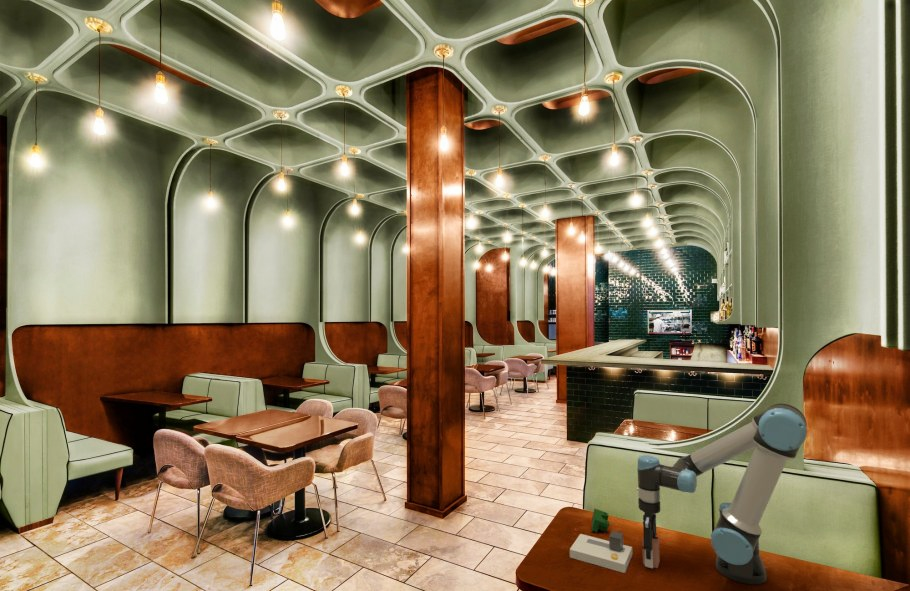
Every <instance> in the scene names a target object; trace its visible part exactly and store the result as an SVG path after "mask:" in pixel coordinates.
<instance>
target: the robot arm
mask: <svg viewBox="0 0 910 591" xmlns="http://www.w3.org/2000/svg"><path fill="white" fill-rule="evenodd" d="M807 425H808V424H807V420H806V417H805V415H804V414H803V412H802V411H801V410H800V409H798V408H797V407H796V406H794V405H792V404H787V403H784V402H783V403H775V404H772V405H770V406H768V407H767V408H766V409H764V410H763V411H762V412H760V413H758V414H757V415H755V416H753V417H752V418H751V422H748V423H747V424H745V425H743V426H741V427H740V428H737V429H735V430H734V431H732V432H730V433H727V434H726V435H724V436H722V437H720V438H718V439H716V440H715V441H713V442H711V443H709V444H707V445H705V446H703V447H700V448H699V449H696V451H694V452H692V453H690V454H688V455H686V456H682V457H680V458H678V459H677V461H676V462H675V463H674V464H673V465H672V466H669V465H665V464H661V463H660V459H659V458H658V457H656V456H653V455H645V454H643V455H640V456H639V457H638V458H637V488H636V491H638V492H637V494H638V509H639V510H640V511H642V512H644V514H643V515H642V519H643V521H642V525H643V531H642V532H643V538H642V539H643V540H644V547H641V548H642V550H643V549H644V550H645V565H644V567H646V568H650V569H654V567H653V549H652V538H654V539H658V540H659V537H658V536H657V535H658V533H657V514H659V513H661V487H662V488H667V489H670V490H675V491H680V492H683V493H690V494H693V493H695V492H696V491H697V490H696V489H697V487H698V484H697V482H698V478H697V477H698V476H701V475H703V474H705V473H706V472H708V471H710V470H713V469H715V468H716V467H718V466H721V465H723V464H725V463H726V462H729V461H731V460H732V459H735V458H738V457H739V456H742V455H744V454H745V453H748V452H750V451H752V450H753V452H752V454H751V457H750V459H749V462H748V464H747V466H746V469H745V471H744V473H743V476H742V478H741V480H740V482H739V485H738V487H737V490H736V493H735V494H734V497H733V498H732V502H722V503H720V504H719V507H718V511H719V518H718V520H717V521H716V524H715V527H714V530H712V532H711V535H710V537H711V538H710V543H711V547H712V549H713V551H714V552H715V553H716V557H715V568H716V570H717V571H718V572H719V573H720V574H722V575H723V576H724V577H726V578H727V579H730V580H733V581H735V582H739V583H740V584H741V583H742V584H746V585H747V584H748V585H760V584H764V583H765V582H766V581H767V570H766V568H765V566H764V563H763V559H762V557H761V555H760V554H761V553H760V537H761V535H762V532H763V530H762V528H761V526H760V523H761V519H762V517H764V516H763V515H764V513H765V511H766V508H767V507H768V504H769V501H770V500H771V497H772V495H773V493H774V490H775V488H776V486H777V484H778V481H779V479H780V477H781V475H782V472H783V470H784V468H785V466H786V464H787V461H789V460H793V459H795V458H796V457H797V454H798V453H799V450H800V448H801V446H802V445H803V444H804V443H805V440H806V438H807V436H808V435H807V433H808V431H807V427H808V426H807ZM643 540H642V541H643Z"/></svg>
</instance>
